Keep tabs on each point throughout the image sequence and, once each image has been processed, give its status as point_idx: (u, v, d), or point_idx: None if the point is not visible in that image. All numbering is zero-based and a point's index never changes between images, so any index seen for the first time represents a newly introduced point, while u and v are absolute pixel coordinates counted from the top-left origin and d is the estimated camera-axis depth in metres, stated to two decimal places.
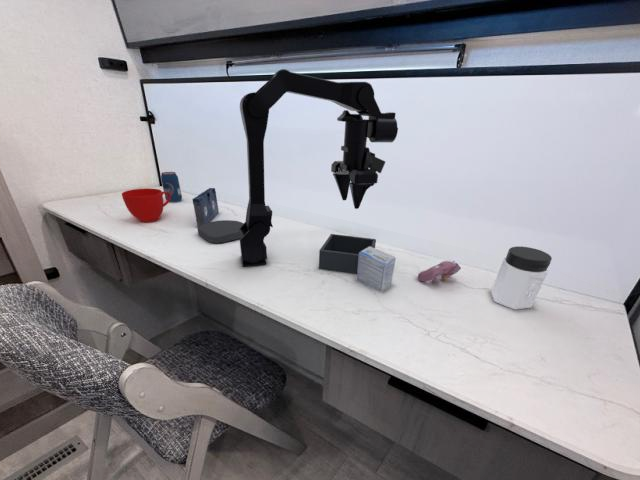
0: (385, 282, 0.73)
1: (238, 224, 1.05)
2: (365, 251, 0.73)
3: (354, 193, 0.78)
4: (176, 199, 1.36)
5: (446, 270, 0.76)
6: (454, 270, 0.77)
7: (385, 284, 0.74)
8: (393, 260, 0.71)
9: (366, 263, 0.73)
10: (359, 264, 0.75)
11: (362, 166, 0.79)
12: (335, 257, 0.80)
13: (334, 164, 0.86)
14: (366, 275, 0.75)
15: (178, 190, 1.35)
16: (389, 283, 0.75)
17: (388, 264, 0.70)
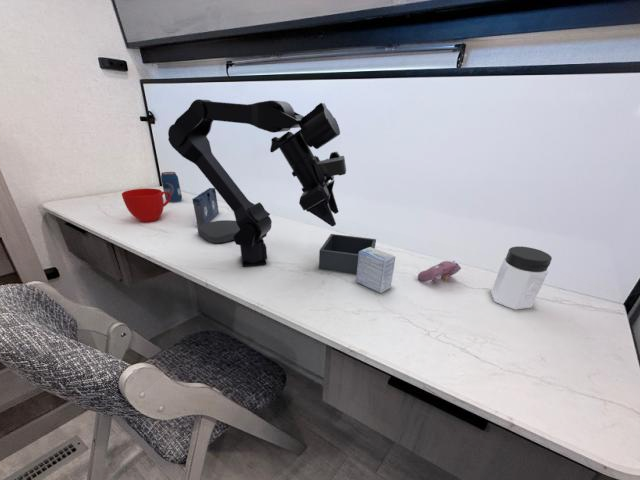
0: (384, 282, 0.72)
1: None
2: (365, 250, 0.73)
3: (317, 215, 0.69)
4: (176, 199, 1.36)
5: (446, 270, 0.76)
6: (454, 270, 0.77)
7: (384, 284, 0.72)
8: (393, 259, 0.70)
9: (365, 262, 0.73)
10: (359, 264, 0.74)
11: (318, 180, 0.68)
12: (335, 257, 0.80)
13: None
14: (366, 275, 0.74)
15: (178, 190, 1.35)
16: (389, 284, 0.74)
17: (388, 262, 0.69)
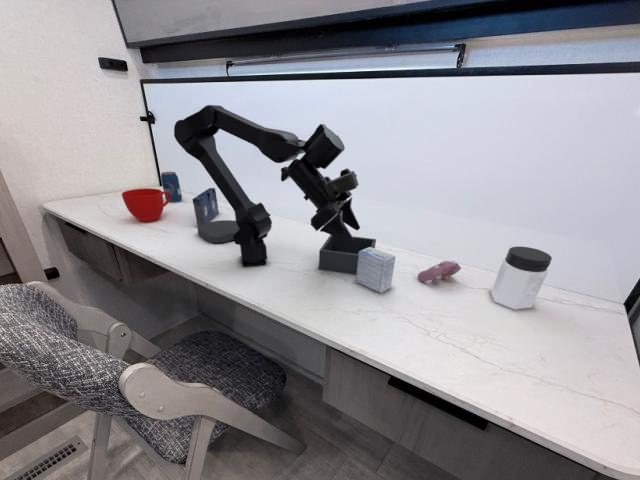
0: (384, 282, 0.72)
1: None
2: (365, 250, 0.73)
3: (333, 233, 0.67)
4: (176, 199, 1.36)
5: (446, 270, 0.76)
6: (454, 270, 0.77)
7: (384, 284, 0.72)
8: (393, 259, 0.70)
9: (365, 262, 0.73)
10: (359, 263, 0.74)
11: (329, 199, 0.67)
12: (335, 257, 0.80)
13: None
14: (366, 275, 0.74)
15: (178, 190, 1.35)
16: (389, 284, 0.74)
17: (387, 262, 0.69)
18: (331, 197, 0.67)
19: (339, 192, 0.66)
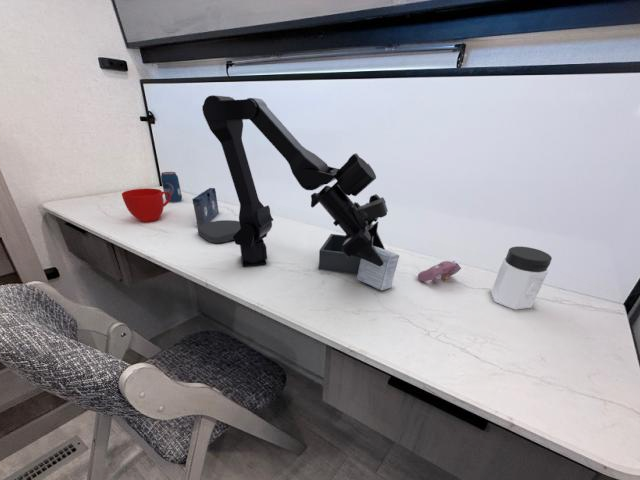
0: (386, 279, 0.72)
1: (238, 224, 1.05)
2: None
3: (363, 257, 0.69)
4: (176, 199, 1.36)
5: (446, 270, 0.76)
6: (454, 270, 0.77)
7: (386, 282, 0.72)
8: (397, 257, 0.71)
9: None
10: (362, 260, 0.75)
11: (359, 225, 0.69)
12: (335, 257, 0.80)
13: None
14: (368, 271, 0.74)
15: (178, 190, 1.35)
16: (389, 283, 0.74)
17: (392, 258, 0.70)
18: (361, 223, 0.68)
19: (369, 219, 0.67)
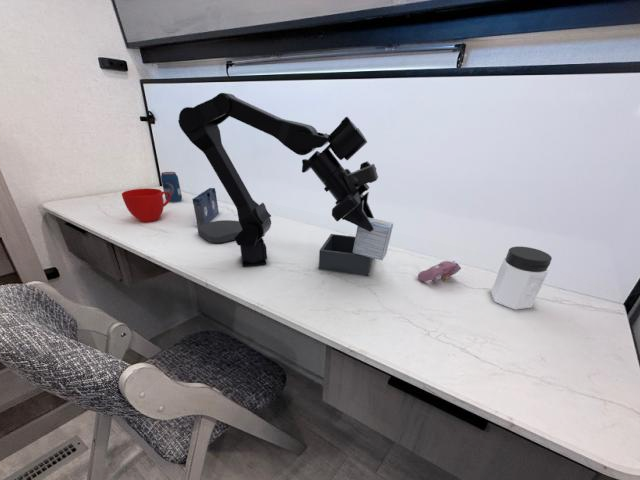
0: (385, 249, 0.74)
1: (238, 224, 1.05)
2: None
3: (354, 222, 0.71)
4: (176, 199, 1.36)
5: (446, 270, 0.76)
6: (454, 270, 0.77)
7: (385, 251, 0.75)
8: (392, 226, 0.73)
9: (366, 231, 0.73)
10: (358, 233, 0.74)
11: (350, 191, 0.69)
12: (335, 257, 0.80)
13: None
14: (366, 244, 0.75)
15: (178, 190, 1.35)
16: (386, 251, 0.77)
17: (390, 229, 0.72)
18: (351, 189, 0.68)
19: (359, 184, 0.68)
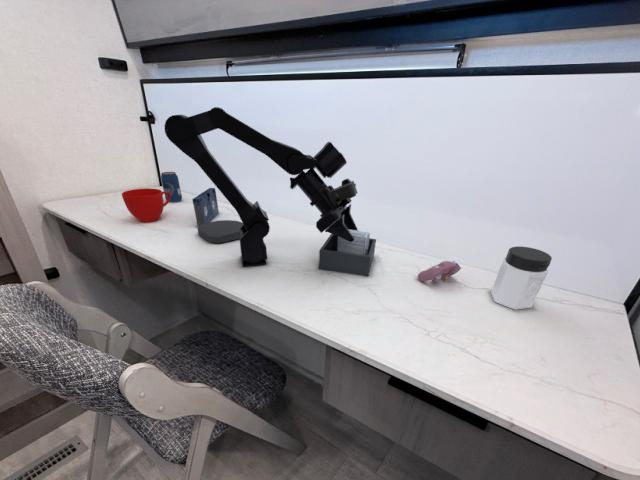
0: None
1: (238, 224, 1.05)
2: None
3: (336, 233, 0.79)
4: (176, 199, 1.36)
5: (446, 270, 0.76)
6: (454, 270, 0.77)
7: None
8: (369, 235, 0.82)
9: (346, 241, 0.82)
10: (339, 244, 0.83)
11: (332, 205, 0.78)
12: (335, 257, 0.80)
13: None
14: None
15: (178, 190, 1.35)
16: None
17: (367, 238, 0.81)
18: (334, 203, 0.77)
19: (340, 199, 0.77)
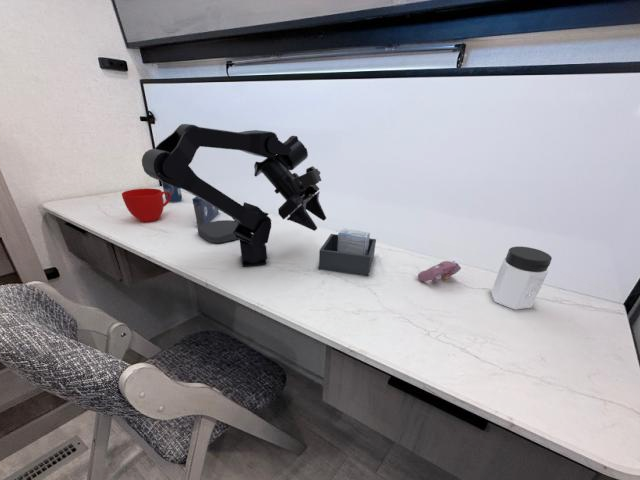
0: None
1: None
2: (343, 231, 0.83)
3: (298, 222, 0.79)
4: (176, 199, 1.36)
5: (446, 270, 0.76)
6: (454, 270, 0.77)
7: None
8: (369, 235, 0.82)
9: (346, 241, 0.82)
10: (339, 244, 0.83)
11: (296, 193, 0.79)
12: (335, 257, 0.80)
13: None
14: None
15: (178, 190, 1.35)
16: None
17: (367, 238, 0.81)
18: (297, 191, 0.78)
19: (303, 186, 0.77)
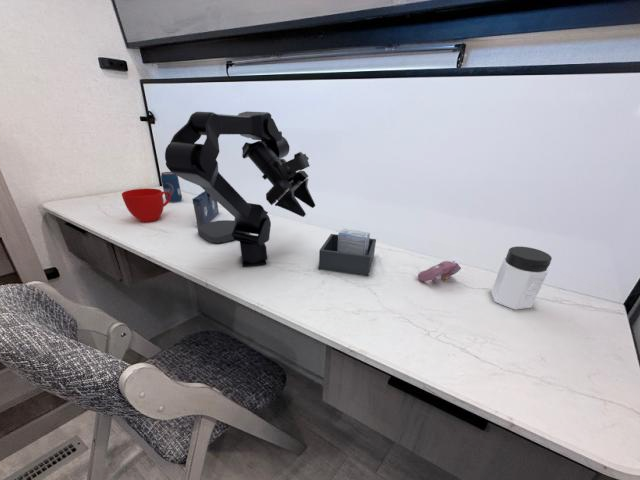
0: None
1: None
2: (343, 231, 0.83)
3: (287, 208, 0.78)
4: (176, 199, 1.36)
5: (446, 270, 0.76)
6: (454, 270, 0.77)
7: None
8: (369, 235, 0.82)
9: (346, 241, 0.82)
10: (339, 244, 0.83)
11: (284, 178, 0.78)
12: (335, 257, 0.80)
13: None
14: None
15: (178, 190, 1.35)
16: None
17: (367, 238, 0.81)
18: (285, 176, 0.77)
19: (291, 172, 0.76)
